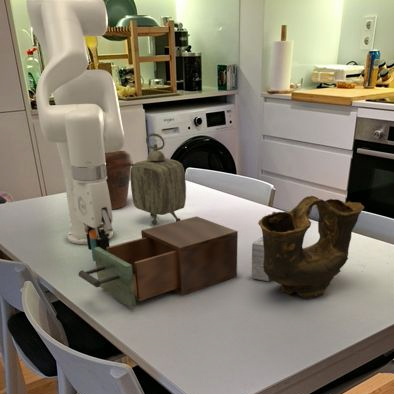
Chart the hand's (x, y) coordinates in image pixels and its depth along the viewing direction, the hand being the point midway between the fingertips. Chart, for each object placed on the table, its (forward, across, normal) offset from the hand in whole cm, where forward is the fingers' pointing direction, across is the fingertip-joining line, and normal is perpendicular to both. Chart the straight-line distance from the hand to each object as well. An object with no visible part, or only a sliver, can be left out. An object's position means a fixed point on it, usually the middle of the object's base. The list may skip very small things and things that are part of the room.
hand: (99, 250), depth 121 cm
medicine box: (+4, +29, +28) cm, 40 cm away
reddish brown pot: (+7, -48, +29) cm, 56 cm away
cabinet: (+4, +18, +14) cm, 23 cm away
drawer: (+3, +18, -2) cm, 18 cm away
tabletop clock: (+6, -20, +31) cm, 37 cm away
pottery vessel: (+4, +40, +29) cm, 49 cm away
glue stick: (+2, 0, 0) cm, 2 cm away
